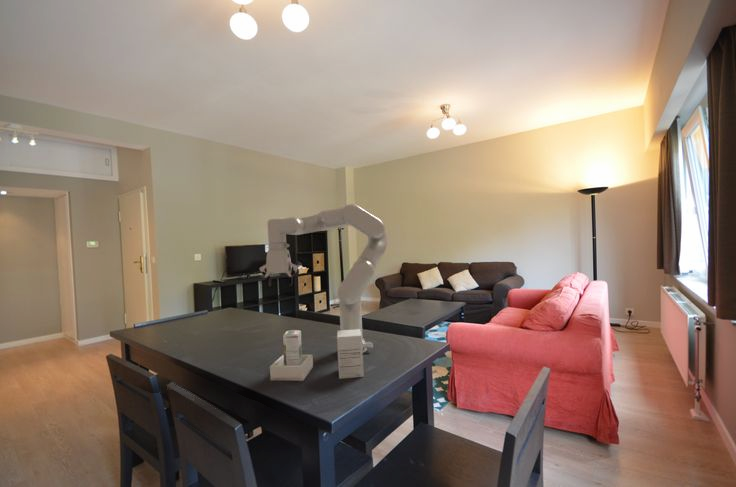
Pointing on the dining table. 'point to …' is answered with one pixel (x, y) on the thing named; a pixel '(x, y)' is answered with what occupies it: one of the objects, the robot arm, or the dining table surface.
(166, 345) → the dining table surface
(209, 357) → the dining table surface
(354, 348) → the supplement box
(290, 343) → the syrup box
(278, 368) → the box
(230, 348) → the dining table surface
